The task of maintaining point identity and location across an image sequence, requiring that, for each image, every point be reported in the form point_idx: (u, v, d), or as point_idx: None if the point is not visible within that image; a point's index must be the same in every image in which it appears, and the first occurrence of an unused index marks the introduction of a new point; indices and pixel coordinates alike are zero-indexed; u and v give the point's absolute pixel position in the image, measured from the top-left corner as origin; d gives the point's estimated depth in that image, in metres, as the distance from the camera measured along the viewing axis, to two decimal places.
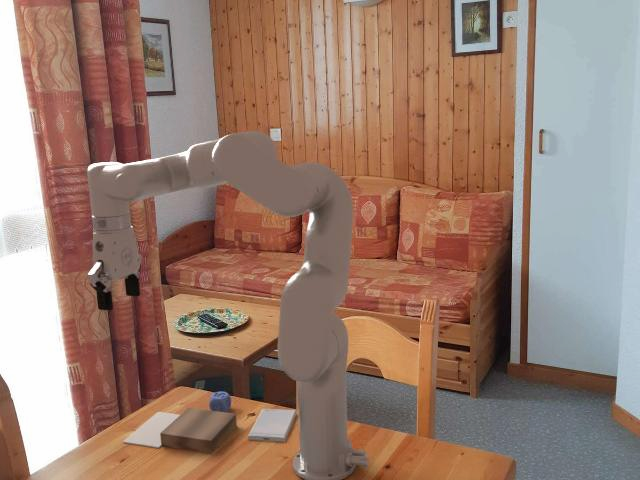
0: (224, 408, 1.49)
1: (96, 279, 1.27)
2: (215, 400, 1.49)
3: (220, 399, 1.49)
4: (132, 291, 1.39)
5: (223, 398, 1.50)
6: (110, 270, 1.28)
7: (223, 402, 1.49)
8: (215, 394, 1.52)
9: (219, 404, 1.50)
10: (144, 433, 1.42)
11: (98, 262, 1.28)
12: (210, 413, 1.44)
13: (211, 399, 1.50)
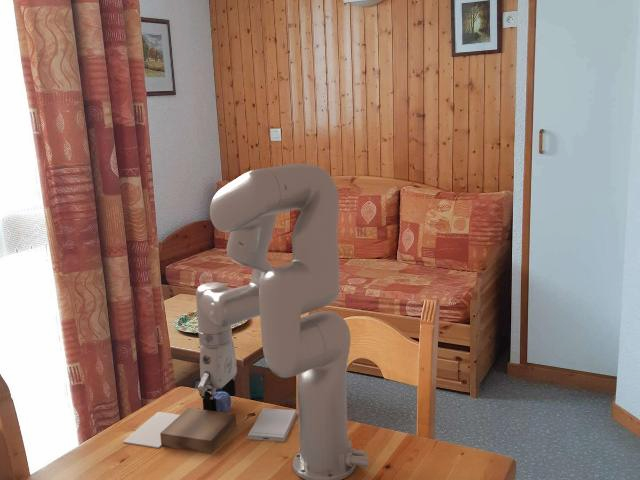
0: (224, 408, 1.49)
1: (204, 390, 1.43)
2: None
3: (220, 399, 1.49)
4: (228, 391, 1.56)
5: (223, 398, 1.50)
6: (216, 380, 1.45)
7: (223, 402, 1.49)
8: (215, 394, 1.52)
9: (219, 404, 1.50)
10: (144, 433, 1.42)
11: (205, 373, 1.45)
12: (210, 413, 1.44)
13: None
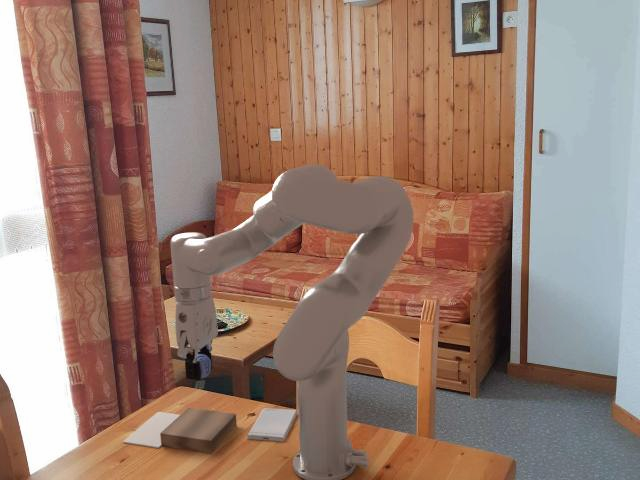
0: (202, 371, 1.35)
1: (186, 354, 1.30)
2: None
3: None
4: None
5: (201, 360, 1.35)
6: (193, 340, 1.30)
7: (201, 365, 1.34)
8: None
9: None
10: (144, 433, 1.42)
11: (182, 336, 1.30)
12: (210, 413, 1.44)
13: None
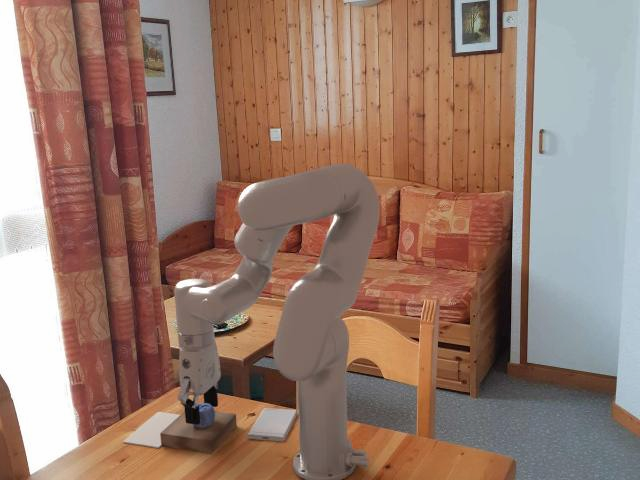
0: (206, 422, 1.37)
1: (186, 398, 1.31)
2: None
3: (202, 412, 1.37)
4: (210, 402, 1.42)
5: (205, 411, 1.37)
6: (197, 386, 1.32)
7: (205, 415, 1.37)
8: None
9: (201, 417, 1.37)
10: (144, 433, 1.42)
11: (185, 380, 1.32)
12: None
13: None
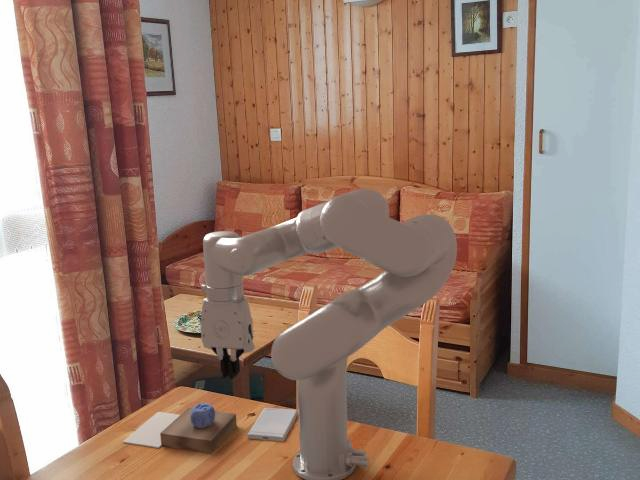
0: (206, 422, 1.37)
1: None
2: (196, 413, 1.37)
3: (202, 412, 1.37)
4: None
5: (205, 411, 1.37)
6: None
7: (205, 415, 1.37)
8: (197, 406, 1.39)
9: (201, 417, 1.37)
10: (144, 433, 1.42)
11: None
12: None
13: (192, 411, 1.38)
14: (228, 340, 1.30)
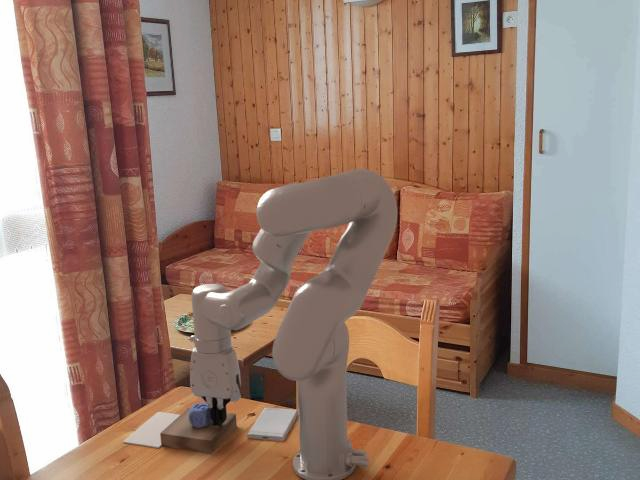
0: (204, 421, 1.37)
1: None
2: (194, 412, 1.37)
3: (200, 411, 1.37)
4: None
5: (203, 410, 1.37)
6: None
7: (203, 415, 1.37)
8: (196, 405, 1.40)
9: (199, 417, 1.37)
10: (144, 433, 1.42)
11: None
12: None
13: (190, 411, 1.38)
14: (216, 390, 1.33)
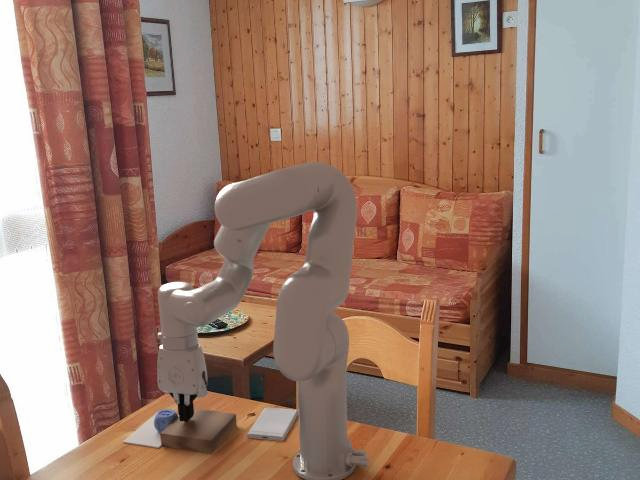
0: (162, 418, 1.40)
1: None
2: (155, 426, 1.41)
3: (154, 420, 1.41)
4: None
5: (155, 417, 1.42)
6: None
7: (156, 418, 1.41)
8: None
9: (160, 422, 1.41)
10: (144, 433, 1.42)
11: None
12: (210, 413, 1.44)
13: None
14: (182, 386, 1.36)
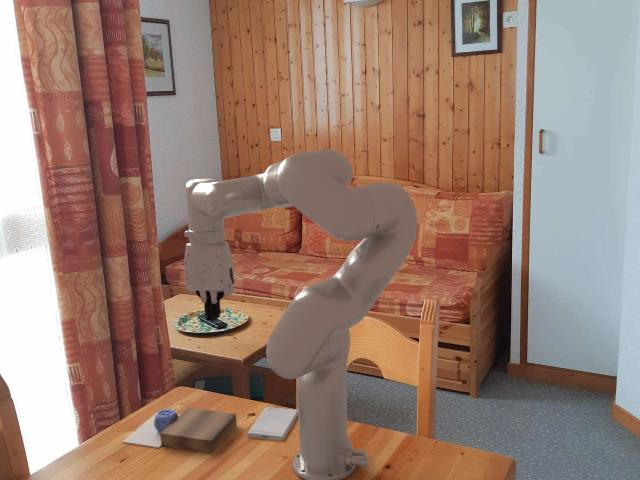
0: (162, 418, 1.40)
1: (194, 290, 1.39)
2: (155, 426, 1.41)
3: (154, 420, 1.41)
4: None
5: (155, 417, 1.42)
6: None
7: (156, 418, 1.41)
8: None
9: (160, 422, 1.41)
10: (144, 433, 1.42)
11: None
12: (210, 413, 1.44)
13: None
14: (210, 283, 1.35)
